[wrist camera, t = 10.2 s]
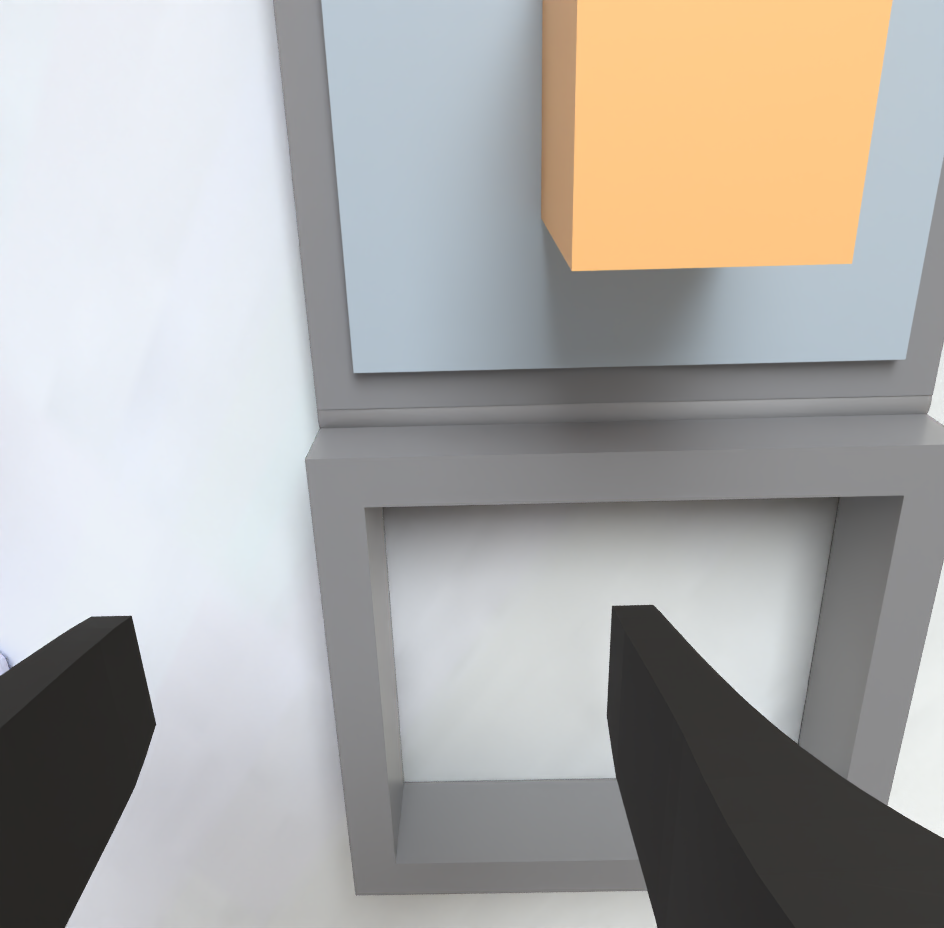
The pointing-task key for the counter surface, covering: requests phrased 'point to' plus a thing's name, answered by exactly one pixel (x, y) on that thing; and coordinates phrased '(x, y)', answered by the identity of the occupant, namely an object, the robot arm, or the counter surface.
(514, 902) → the counter surface
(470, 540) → the counter surface
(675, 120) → the block
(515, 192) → the grey framed tray
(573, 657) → the counter surface
